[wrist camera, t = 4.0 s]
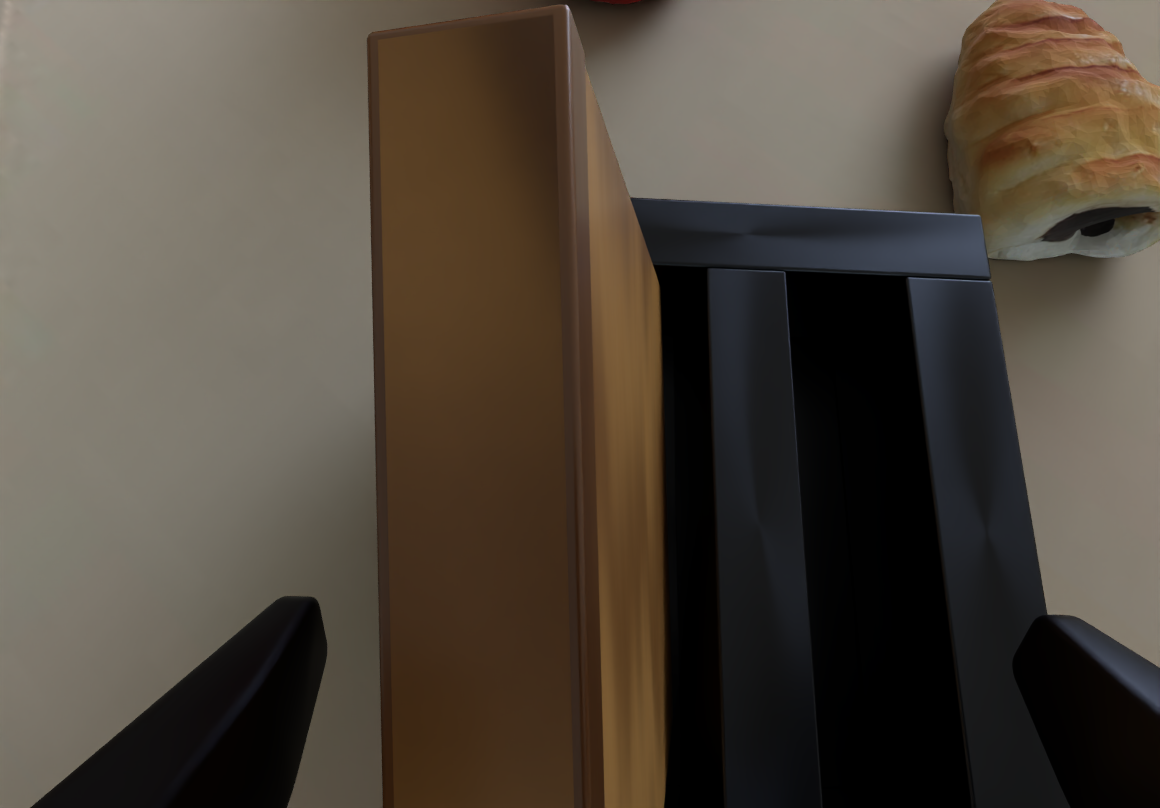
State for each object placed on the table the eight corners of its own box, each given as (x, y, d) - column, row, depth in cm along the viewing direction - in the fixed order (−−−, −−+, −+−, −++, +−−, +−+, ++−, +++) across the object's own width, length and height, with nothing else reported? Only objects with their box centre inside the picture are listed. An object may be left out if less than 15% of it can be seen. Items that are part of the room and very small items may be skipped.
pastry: (901, 38, 23) (968, -64, 20) (1076, 38, 24) (1173, -61, 20) (957, 273, 21) (1046, 206, 17) (1151, 267, 21) (1278, 201, 18)
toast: (674, 719, 13) (607, 1435, 4) (605, 713, 14) (390, 1379, 4) (661, 284, 13) (570, -2, 4) (594, 289, 14) (362, 30, 4)
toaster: (879, 813, 16) (1108, 970, 10) (438, 808, 16) (358, 969, 9) (836, 338, 20) (982, 213, 13) (474, 324, 20) (435, 186, 13)
